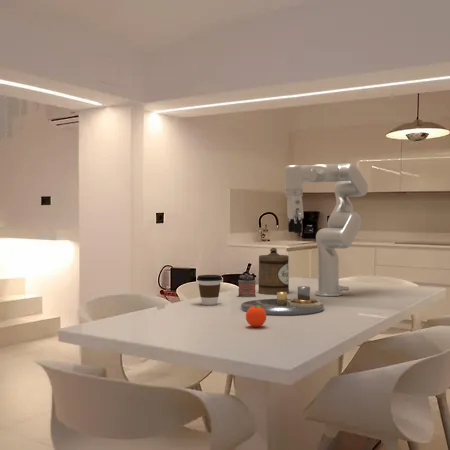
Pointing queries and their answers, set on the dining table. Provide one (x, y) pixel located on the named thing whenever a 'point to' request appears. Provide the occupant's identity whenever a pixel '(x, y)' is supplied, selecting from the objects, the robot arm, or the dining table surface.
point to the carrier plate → (284, 306)
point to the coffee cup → (209, 288)
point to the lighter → (246, 286)
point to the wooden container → (273, 273)
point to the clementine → (256, 316)
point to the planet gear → (303, 295)
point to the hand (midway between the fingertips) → (295, 232)
